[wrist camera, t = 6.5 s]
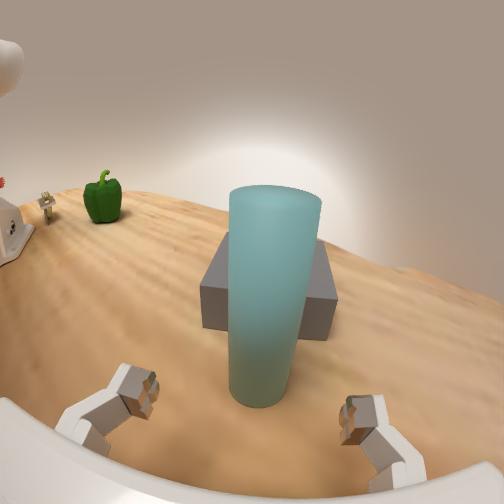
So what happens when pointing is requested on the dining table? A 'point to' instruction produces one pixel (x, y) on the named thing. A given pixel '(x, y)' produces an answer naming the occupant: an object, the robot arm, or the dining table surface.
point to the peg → (267, 286)
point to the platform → (47, 205)
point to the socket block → (316, 304)
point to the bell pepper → (103, 199)
